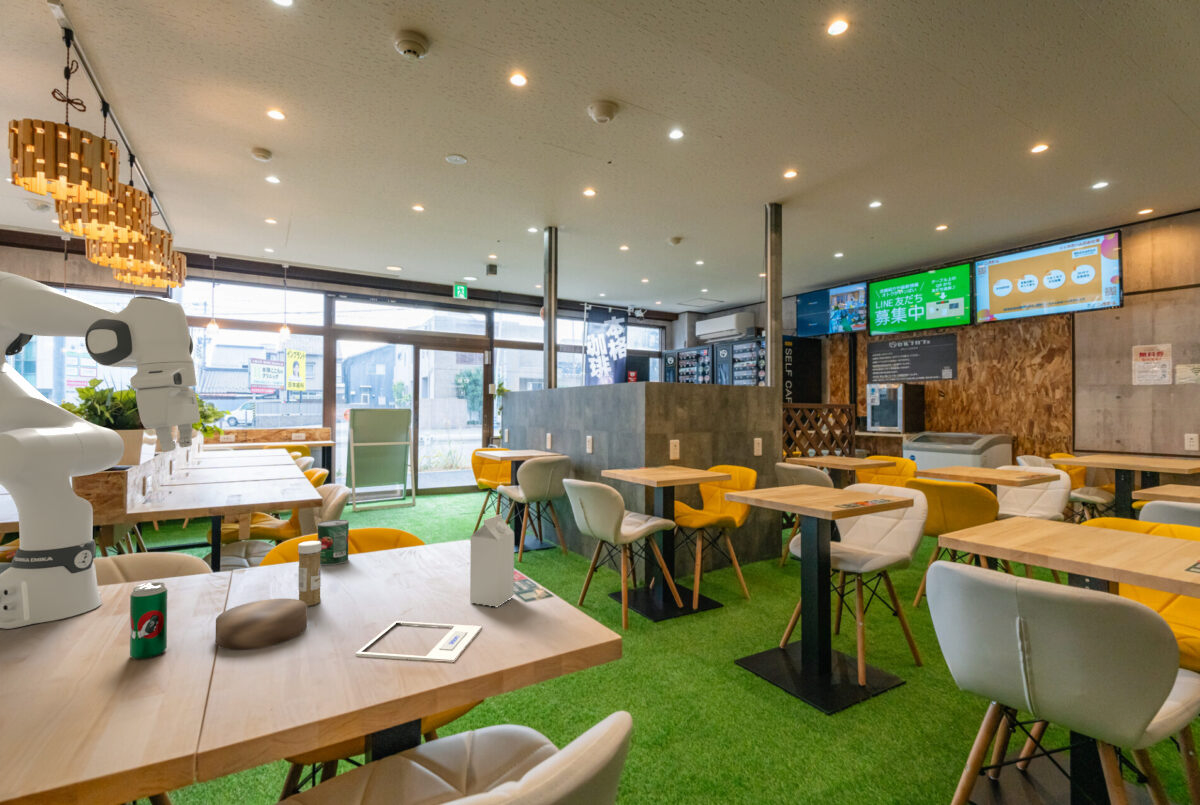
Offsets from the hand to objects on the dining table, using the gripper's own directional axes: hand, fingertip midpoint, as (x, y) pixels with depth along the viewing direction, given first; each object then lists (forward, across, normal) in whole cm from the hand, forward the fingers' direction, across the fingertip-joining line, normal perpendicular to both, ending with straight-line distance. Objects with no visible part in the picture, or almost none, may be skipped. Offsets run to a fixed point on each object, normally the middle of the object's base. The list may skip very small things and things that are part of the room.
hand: (177, 448), depth 110 cm
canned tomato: (+39, -40, +20) cm, 59 cm away
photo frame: (+41, +23, +40) cm, 62 cm away
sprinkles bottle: (+38, -6, +18) cm, 43 cm away
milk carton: (+43, +6, +56) cm, 71 cm away
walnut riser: (+37, +9, +12) cm, 40 cm away
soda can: (+35, +13, -5) cm, 38 cm away
